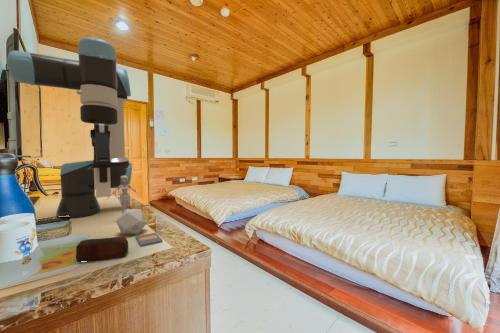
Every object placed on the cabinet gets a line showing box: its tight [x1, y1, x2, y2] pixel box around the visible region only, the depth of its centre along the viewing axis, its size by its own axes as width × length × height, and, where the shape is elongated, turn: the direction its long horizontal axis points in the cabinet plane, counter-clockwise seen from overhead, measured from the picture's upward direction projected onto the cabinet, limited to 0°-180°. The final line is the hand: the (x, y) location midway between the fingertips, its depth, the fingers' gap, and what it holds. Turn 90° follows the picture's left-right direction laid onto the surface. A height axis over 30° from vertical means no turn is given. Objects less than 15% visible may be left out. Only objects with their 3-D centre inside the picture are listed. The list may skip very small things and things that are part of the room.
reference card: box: [135, 232, 163, 248], centre depth 68 cm, size 8×6×1 cm
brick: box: [75, 236, 129, 263], centre depth 56 cm, size 11×4×5 cm, turn 110°
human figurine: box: [106, 175, 142, 215], centre depth 87 cm, size 12×4×18 cm, turn 123°
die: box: [115, 208, 148, 235], centre depth 74 cm, size 8×9×10 cm
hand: (101, 192), depth 55 cm, fingers open, 13 cm apart
